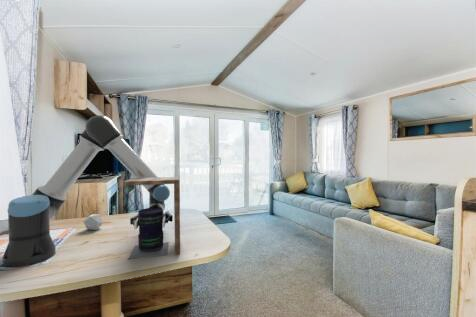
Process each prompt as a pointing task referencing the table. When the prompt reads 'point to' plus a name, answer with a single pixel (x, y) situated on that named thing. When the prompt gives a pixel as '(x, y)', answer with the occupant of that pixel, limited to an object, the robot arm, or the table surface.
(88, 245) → the table surface
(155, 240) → the rusty oil drum
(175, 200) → the wooden gallows frame
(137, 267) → the table surface
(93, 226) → the die
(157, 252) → the pad
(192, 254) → the table surface
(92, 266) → the table surface
